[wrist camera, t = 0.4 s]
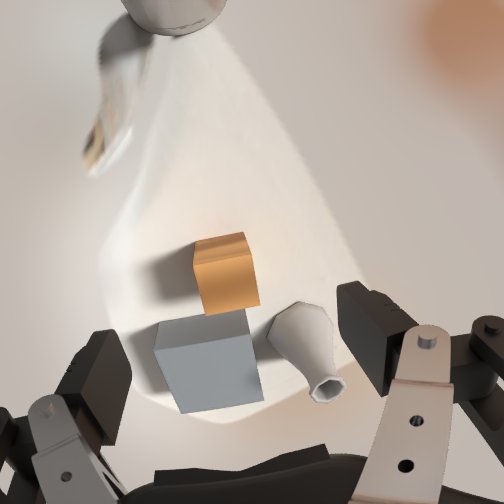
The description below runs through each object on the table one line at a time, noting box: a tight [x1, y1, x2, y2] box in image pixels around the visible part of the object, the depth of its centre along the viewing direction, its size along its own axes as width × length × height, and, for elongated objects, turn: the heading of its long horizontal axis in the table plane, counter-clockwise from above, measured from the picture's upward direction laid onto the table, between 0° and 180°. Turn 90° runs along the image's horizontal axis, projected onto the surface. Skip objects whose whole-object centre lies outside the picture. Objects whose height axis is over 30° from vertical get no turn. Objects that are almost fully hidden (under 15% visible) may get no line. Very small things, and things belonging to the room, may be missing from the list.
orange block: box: [193, 232, 260, 316], centre depth 27 cm, size 4×4×6 cm
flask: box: [266, 301, 347, 403], centre depth 30 cm, size 7×7×10 cm
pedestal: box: [153, 308, 264, 414], centre depth 31 cm, size 9×9×5 cm
